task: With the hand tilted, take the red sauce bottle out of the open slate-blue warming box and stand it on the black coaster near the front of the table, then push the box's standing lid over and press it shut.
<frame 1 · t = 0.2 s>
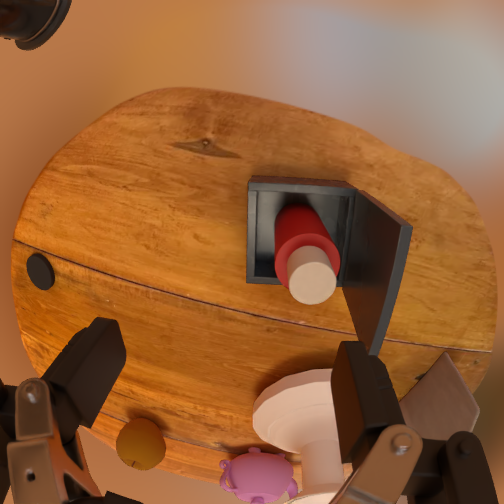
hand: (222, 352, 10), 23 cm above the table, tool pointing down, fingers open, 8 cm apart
warming box: (297, 223, 31), on the table
apple: (149, 422, 49), on the table
candle holder: (315, 396, 42), on the table
box lid: (368, 267, 21), point 11 cm above the table, hinge at 88.0°
sauce bottle: (297, 225, 31), point 1 cm above the table, touching warming box
black coaster: (41, 270, 37), on the table
brown piece: (428, 386, 41), on the table
teapot: (264, 457, 52), on the table
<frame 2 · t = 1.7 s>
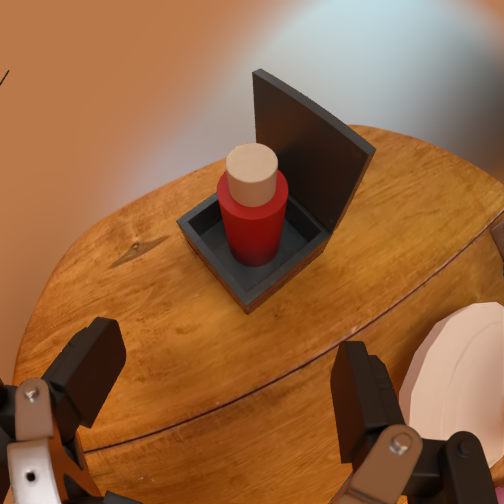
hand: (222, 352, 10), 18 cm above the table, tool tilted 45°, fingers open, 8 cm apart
warming box: (254, 246, 30), on the table
candle holder: (456, 395, 23), on the table
box lid: (301, 155, 21), point 11 cm above the table, hinge at 88.0°
sauce bottle: (254, 243, 29), point 1 cm above the table, touching warming box
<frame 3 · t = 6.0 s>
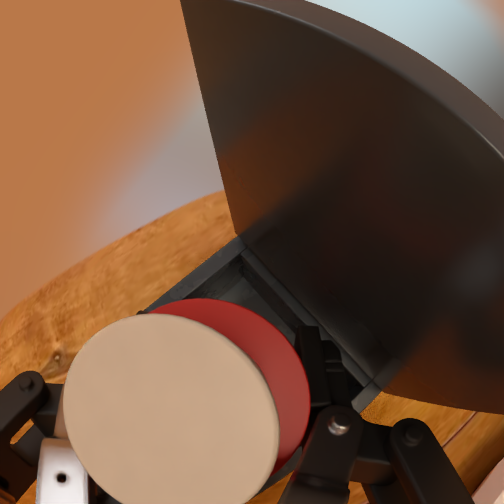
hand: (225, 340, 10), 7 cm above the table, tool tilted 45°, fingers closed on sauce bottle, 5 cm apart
warming box: (236, 378, 16), on the table
box lid: (351, 270, 7), point 11 cm above the table, hinge at 88.0°
sauce bottle: (235, 379, 15), point 1 cm above the table, touching gripper, warming box
when the fingers open (7 cm above the table, at t = 16.7 s): sauce bottle stays where it is, resting on black coaster.
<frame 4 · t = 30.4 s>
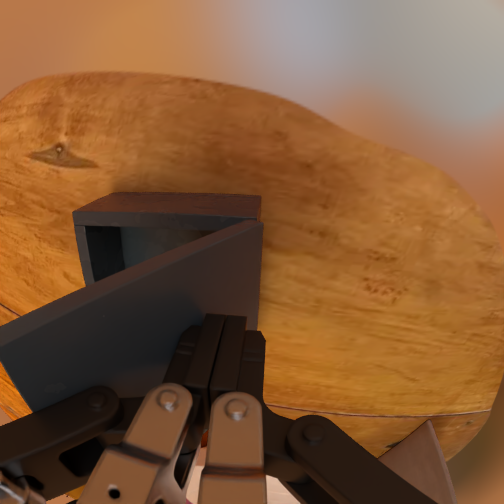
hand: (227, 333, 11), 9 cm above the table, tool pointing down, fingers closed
warming box: (183, 265, 20), on the table
candle holder: (253, 460, 31), on the table
box lid: (174, 377, 10), point 10 cm above the table, hinge at 60.3°, touching gripper
brown piece: (404, 451, 30), on the table
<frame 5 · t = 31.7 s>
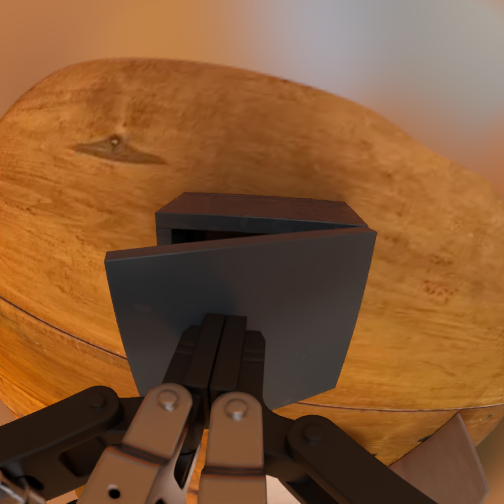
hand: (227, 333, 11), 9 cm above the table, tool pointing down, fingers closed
warming box: (260, 270, 19), on the table
candle holder: (292, 461, 30), on the table
box lid: (254, 346, 12), point 8 cm above the table, hinge at 25.3°
brown piece: (432, 444, 29), on the table
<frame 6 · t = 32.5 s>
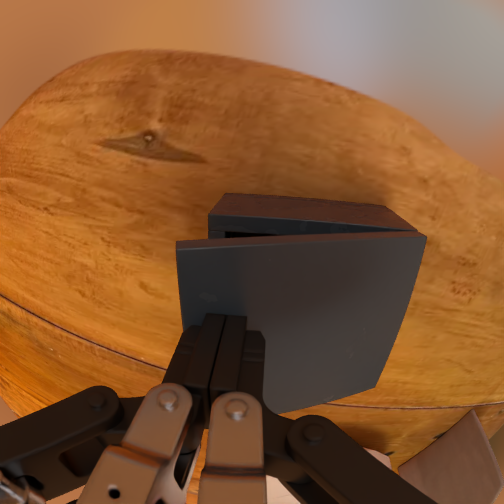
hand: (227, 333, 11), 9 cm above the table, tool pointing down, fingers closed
warming box: (300, 273, 19), on the table
candle holder: (312, 462, 30), on the table
box lid: (308, 341, 13), point 7 cm above the table, hinge at 17.7°, touching gripper
brown piece: (446, 441, 29), on the table
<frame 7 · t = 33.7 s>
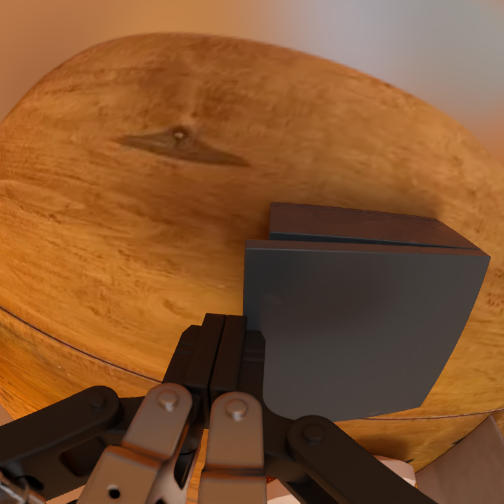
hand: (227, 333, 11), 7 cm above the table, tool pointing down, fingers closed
warming box: (347, 290, 17), on the table
candle holder: (334, 473, 28), on the table
box lid: (364, 352, 12), point 6 cm above the table, hinge at 4.5°, touching gripper
brown piece: (462, 446, 27), on the table
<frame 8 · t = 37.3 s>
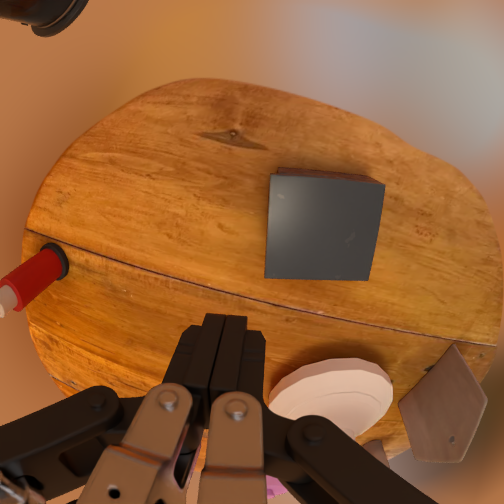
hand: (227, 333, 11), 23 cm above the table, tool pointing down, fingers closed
warming box: (320, 215, 32), on the table
candle holder: (328, 387, 43), on the table
box lid: (324, 230, 27), point 6 cm above the table, hinge at 3.3°
cup: (371, 444, 51), on the table
sauce bottle: (50, 263, 36), point 1 cm above the table, touching black coaster
black coaster: (55, 260, 37), on the table
brown piece: (436, 378, 42), on the table
teapot: (273, 450, 53), on the table
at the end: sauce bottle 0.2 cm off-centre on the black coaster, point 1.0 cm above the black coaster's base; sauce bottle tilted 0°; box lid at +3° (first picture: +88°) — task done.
